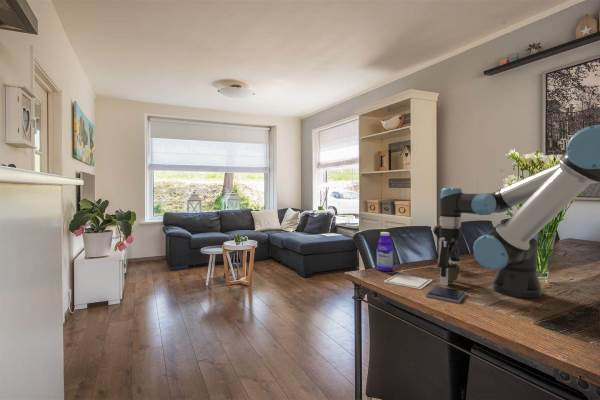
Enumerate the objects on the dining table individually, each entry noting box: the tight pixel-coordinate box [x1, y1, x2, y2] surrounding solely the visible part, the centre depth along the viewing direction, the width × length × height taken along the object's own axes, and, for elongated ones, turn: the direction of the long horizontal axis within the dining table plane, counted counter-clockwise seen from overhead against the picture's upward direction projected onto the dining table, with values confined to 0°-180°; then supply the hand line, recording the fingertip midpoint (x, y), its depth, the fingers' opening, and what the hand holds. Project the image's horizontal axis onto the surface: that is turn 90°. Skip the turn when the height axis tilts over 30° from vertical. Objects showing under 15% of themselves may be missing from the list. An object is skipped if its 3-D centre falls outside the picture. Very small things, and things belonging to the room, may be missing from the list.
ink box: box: [437, 237, 452, 271], centre depth 155 cm, size 8×5×15 cm, turn 134°
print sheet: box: [382, 273, 434, 290], centre depth 135 cm, size 15×15×1 cm
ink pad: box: [425, 285, 468, 305], centre depth 118 cm, size 11×11×1 cm
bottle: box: [376, 231, 394, 272], centre depth 153 cm, size 7×6×17 cm
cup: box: [439, 263, 460, 286], centre depth 131 cm, size 8×7×8 cm
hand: (448, 280), depth 131 cm, fingers open, 13 cm apart
